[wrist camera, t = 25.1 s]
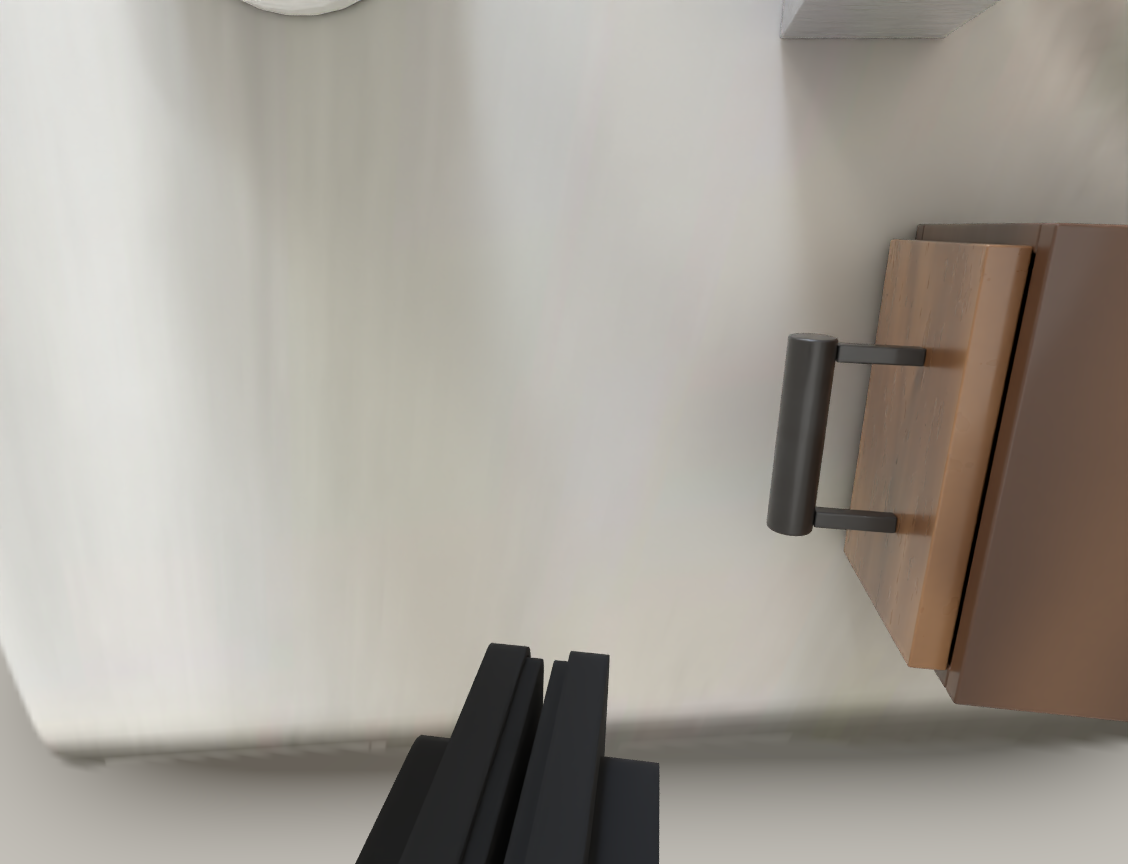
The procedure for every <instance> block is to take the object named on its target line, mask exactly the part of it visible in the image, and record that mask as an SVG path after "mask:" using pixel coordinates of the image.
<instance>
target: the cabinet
mask: <svg viewBox="0 0 1128 864" xmlns="http://www.w3.org/2000/svg"><path fill="white" fill-rule="evenodd" d="M916 240H929V241H949V242H968V243H987V244H1007V245H1026V246H1032V248H1033V249H1032V254H1031V259H1030V263H1034V267H1033V271H1032V276H1031V281H1030V286H1029V291H1028V295H1027V300H1026V305H1025V310H1024V315H1023V320H1022V324H1021V329H1020V334H1019V339H1018V344H1017V349H1016V353H1015V358H1014V363H1013V368H1012V373H1011V377H1010V382H1009V387H1008V392H1007V397H1006V402H1005V406H1004V411H1003V416H1002V421H1001V426H1000V431H999V435H998V440H997V445H996V450H995V455H994V459H993V464H992V469H991V474H990V479H989V484H988V488H987V493H986V498H985V503H984V508H983V513H982V517H981V522H980V527H979V532H978V537H977V541H976V546H975V551H974V556H973V561H972V566H971V570H970V575H969V580H968V585H967V590H966V595H965V599H964V604H963V609H962V614H961V613H960V612H959V610H958V614H957V619H956V624H955V628H954V633H953V638H952V643H951V648H950V653H949V658H948V662H947V667H946V670H934V671H935V672H936V674H937V676H938V677H939V679H940V680H941V682H942V684H943V685H944V687H945V688H946V690H947V692H948V694H949V695H950V697H951V699H952V700H953V702H954V703H955V704H961V705H970V706H980V707H990V708H999V709H1009V710H1019V711H1028V712H1038V713H1048V714H1057V715H1067V716H1077V717H1086V718H1096V719H1106V720H1115V721H1125V722H1128V225H1113V224H1078V223H996V224H919V225H918V227H917V234H916Z"/></svg>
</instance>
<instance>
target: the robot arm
mask: <svg viewBox="0 0 1128 864" xmlns="http://www.w3.org/2000/svg"><path fill="white" fill-rule="evenodd" d="M241 1H243V2H246V3H248V4H250V5H252V6H254V7H256V8H259V9H261V10H266V11H270V12H275V13H279V14H284V15H319V14H323V13H328V12H332V11H336V10H340V9H344V8H346V7H348V6H350V5H352V4H354V3H356V2H358V1H360V0H241ZM543 679H544V662H543V659H538V658H531V653H530V648H529V647H526V646H516V645H506V644H497V643H491V644H490V645H489V646H488V648H487V651H486V653H485V656H484V658H483V660H482V663H481V665H480V668H479V670H478V673H477V675H476V677H475V680H474V682H473V685H472V687H471V689H470V692H469V694H468V697H467V699H466V702H465V704H464V706H463V709H462V711H461V714H460V716H459V718H458V721H457V723H456V726H455V728H454V731H453V733H452V735H451V738H442V737H434V736H425V735H421V736H419V737H418V738H417V739H416V740H415V742H414V744H413V745H412V747H411V749H410V751H409V753H408V755H407V757H406V759H405V761H404V764H403V766H402V768H401V770H400V772H399V774H398V776H397V778H396V780H395V782H394V784H393V787H392V788H391V791H390V793H389V795H388V797H387V799H386V801H385V803H384V805H383V807H382V809H381V811H380V813H379V816H378V818H377V820H376V822H375V824H374V826H373V828H372V830H371V832H370V834H369V836H368V838H367V840H366V843H365V845H364V847H363V849H362V851H361V853H360V855H359V857H358V859H357V861H356V863H355V864H659V763H654V762H646V761H637V760H629V759H620V758H612V757H604V753H605V734H606V716H607V698H608V679H609V655H605V654H595V653H585V652H576V651H571V652H570V655H569V660H568V662H567V661H558V660H555V661H554V663H553V667H552V671H551V675H550V679H549V683H548V687H547V691H546V695H545V699H544V703H543Z"/></svg>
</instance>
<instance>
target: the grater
mask: <svg viewBox="0 0 1128 864" xmlns="http://www.w3.org/2000/svg"><path fill="white" fill-rule="evenodd" d="M999 1H1000V0H784V3H783V13H782V23H781V32H780V38H945V37H946V36H948V35H949V34H951V33H952V32H954V31H955V30H957V29H958V28H960V27H961V26H963V25H964V24H966V23H967V22H969V21H970V20H972V19H973V18H975V17H976V16H978V15H979V14H981V13H982V12H984V11H985V10H987V9H988V8H990V7H991V6H993V5H994V4H996V3H997V2H999Z"/></svg>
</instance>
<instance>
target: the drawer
mask: <svg viewBox="0 0 1128 864" xmlns="http://www.w3.org/2000/svg"><path fill="white" fill-rule="evenodd" d="M1032 249H1033V248H1032V246H1026V245H1007V244H987V243H968V242H949V241H929V240H903V239H892V240H891V242H890V249H889V256H888V262H887V269H886V275H885V282H884V289H883V295H882V302H881V308H880V315H879V322H878V328H877V335H876V341H875V344H858V343H838V339H837V338H835V337H833V336H828V335H822V334H811V333H796V334H791V335H789V337H788V344H787V353H786V361H785V370H784V378H783V387H782V395H781V404H780V412H779V421H778V429H777V438H776V446H775V455H774V463H773V472H772V480H771V489H770V498H769V506H768V515H767V526H768V527H769V528H770V529H771V530H773V531H775V532H777V533H780V534H784V535H790V536H803V535H807V534H809V533H810V532H811V531H812V528H813V525H814V527H819V528H832V529H845V530H847V533H846V539H845V546H844V553H845V555H846V556H847V558H848V560H849V562H850V563H851V565H852V567H853V569H854V571H855V572H856V574H857V576H858V578H859V580H860V581H861V583H862V585H863V587H864V588H865V590H866V592H867V594H868V596H869V597H870V599H871V601H872V603H873V605H874V606H875V608H876V610H877V612H878V613H879V615H880V617H881V619H882V621H883V622H884V624H885V626H886V628H887V630H888V631H889V633H890V635H891V637H892V638H893V640H894V642H895V644H896V646H897V647H898V649H899V651H900V653H901V655H902V656H903V658H904V660H905V662H906V663H907V665H908V666H909V667H913V668H923V669H934V670H946V667H947V662H948V658H949V653H950V648H951V643H952V638H953V633H954V628H955V624H956V619H957V614H958V610H959V612H960V613H961V614H962V609H963V604H964V599H965V595H966V590H967V585H968V580H969V575H970V570H971V566H972V561H973V556H974V551H975V546H976V541H977V537H978V532H979V527H980V522H981V517H982V513H983V508H984V503H985V498H986V493H987V488H988V484H989V479H990V474H991V469H992V464H993V459H994V455H995V450H996V445H997V440H998V435H999V431H1000V426H1001V421H1002V416H1003V411H1004V406H1005V402H1006V397H1007V392H1008V387H1009V382H1010V377H1011V373H1012V368H1013V363H1014V358H1015V353H1016V349H1017V344H1018V339H1019V334H1020V329H1021V324H1022V320H1023V315H1024V310H1025V305H1026V300H1027V295H1028V291H1029V286H1030V281H1031V276H1032V271H1033V267H1034V263H1030V259H1031V254H1032ZM835 361H837V362H841V363H861V364H872V368H871V374H870V381H869V387H868V394H867V401H866V407H865V414H864V420H863V427H862V434H861V440H860V447H859V453H858V460H857V467H856V473H855V480H854V486H853V493H852V500H851V506H850V509H838V508H824V507H815V506H816V499H817V491H818V484H819V477H820V469H821V462H822V455H823V448H824V440H825V433H826V426H827V418H828V411H829V404H830V396H831V389H832V382H833V375H834V367H835Z"/></svg>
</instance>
